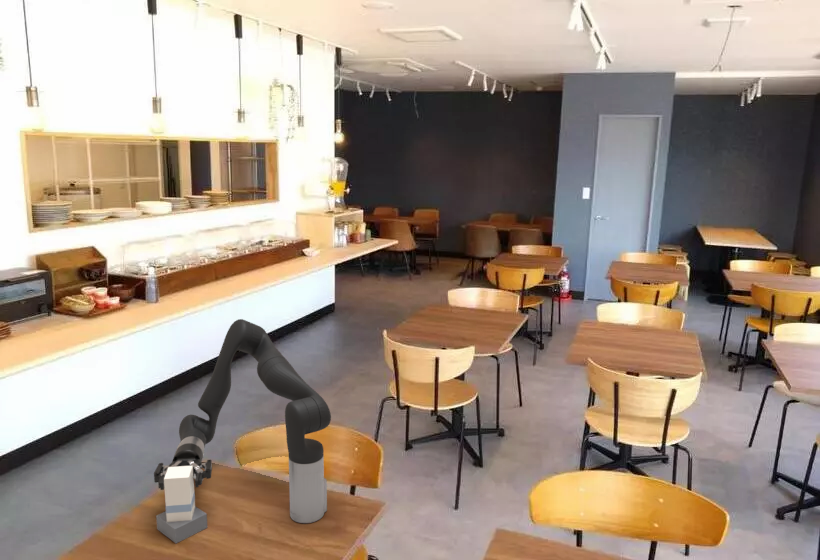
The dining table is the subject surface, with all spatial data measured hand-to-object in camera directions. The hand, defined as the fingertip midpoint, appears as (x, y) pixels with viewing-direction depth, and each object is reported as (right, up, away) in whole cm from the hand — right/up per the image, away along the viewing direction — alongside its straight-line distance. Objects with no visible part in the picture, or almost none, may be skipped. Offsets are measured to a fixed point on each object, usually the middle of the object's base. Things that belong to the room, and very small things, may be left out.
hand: (179, 485), depth 162 cm
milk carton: (0, -8, +2) cm, 8 cm away
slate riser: (0, -12, +3) cm, 12 cm away
